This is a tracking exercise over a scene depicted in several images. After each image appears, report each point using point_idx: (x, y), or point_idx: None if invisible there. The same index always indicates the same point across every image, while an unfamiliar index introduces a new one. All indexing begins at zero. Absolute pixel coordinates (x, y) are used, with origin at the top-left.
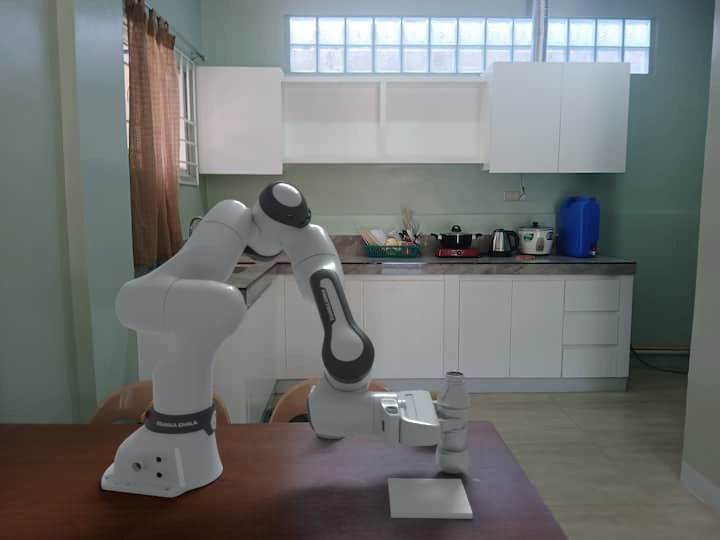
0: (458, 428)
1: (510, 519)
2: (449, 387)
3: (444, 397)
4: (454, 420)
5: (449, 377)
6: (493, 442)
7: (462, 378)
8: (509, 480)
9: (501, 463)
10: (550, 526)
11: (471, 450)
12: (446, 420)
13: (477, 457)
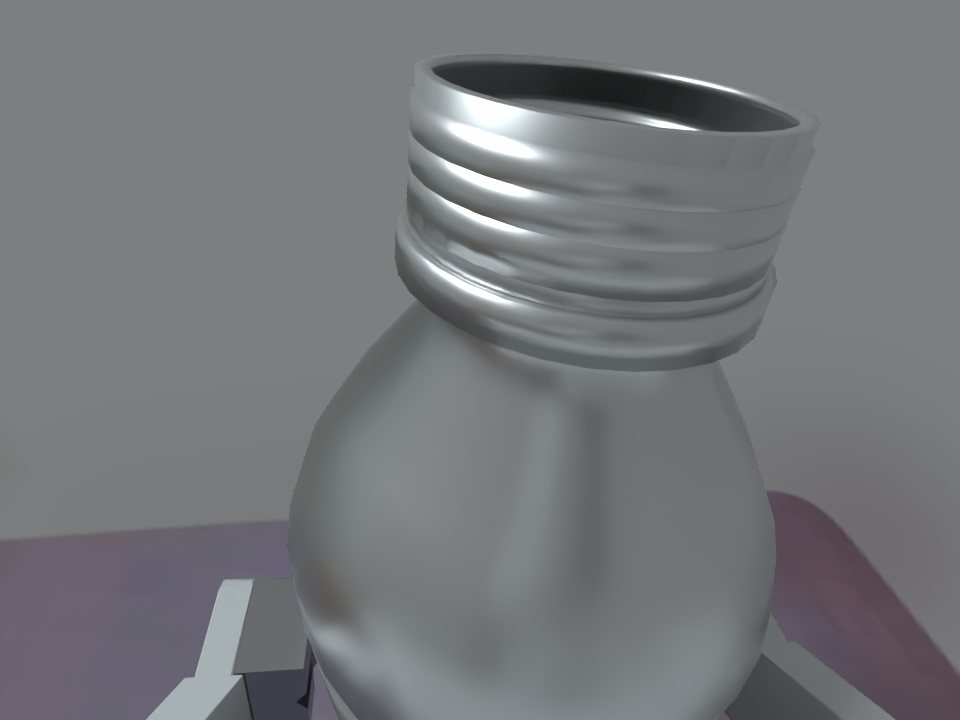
0: None
1: (818, 607)
2: (704, 381)
3: (760, 577)
4: (773, 621)
5: (803, 179)
6: (60, 555)
7: (675, 125)
8: None
9: None
10: (782, 497)
11: (123, 694)
12: (867, 714)
13: None
